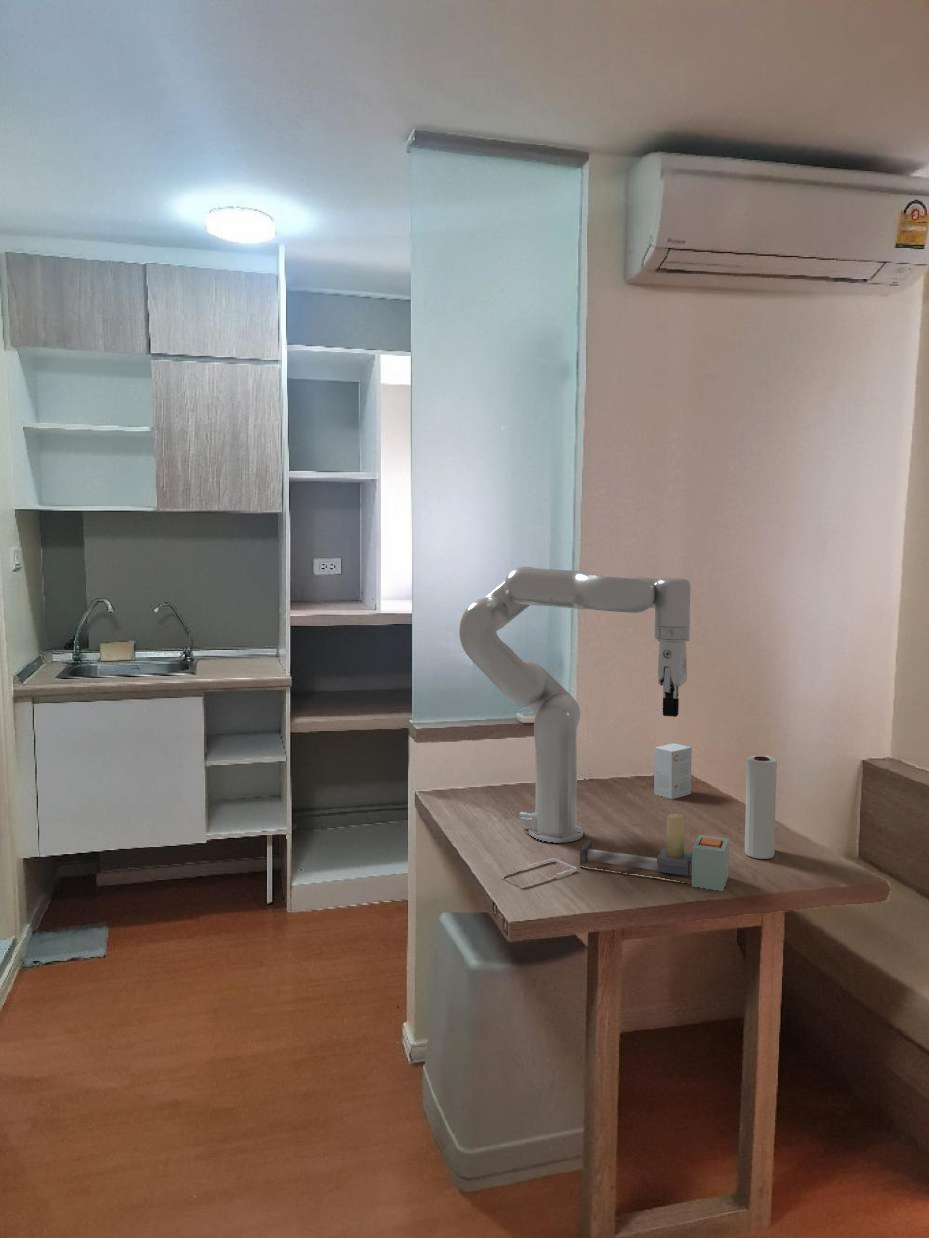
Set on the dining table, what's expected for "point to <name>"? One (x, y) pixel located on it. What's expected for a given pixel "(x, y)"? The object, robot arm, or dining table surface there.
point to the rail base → (626, 863)
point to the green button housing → (710, 864)
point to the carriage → (674, 848)
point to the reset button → (711, 842)
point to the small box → (672, 770)
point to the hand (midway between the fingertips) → (670, 715)
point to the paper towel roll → (760, 806)
